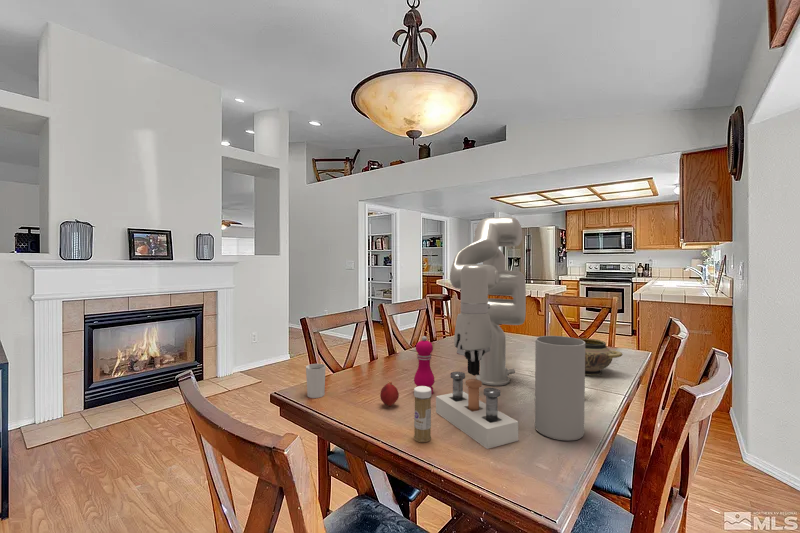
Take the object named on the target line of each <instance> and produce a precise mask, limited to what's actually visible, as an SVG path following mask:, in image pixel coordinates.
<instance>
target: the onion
mask: <svg viewBox="0 0 800 533" xmlns="http://www.w3.org/2000/svg"><path fill="white" fill-rule="evenodd" d="M399 395H400V394H399V391H398V389H397V387H396V386H395V385H393V382H392V381H391V380H390V381H388V382H387V384H385V385H383V387H382V388H381V390H380V400H381V402H383V404H385V405H387V406H388V407H391V406H393V405H394V404H395V403H396V402H397V401H398V400H399Z"/></svg>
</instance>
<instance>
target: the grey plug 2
mask: <svg viewBox="0 0 800 533" xmlns="http://www.w3.org/2000/svg"><path fill="white" fill-rule="evenodd" d="M482 390H483V392H482V393H483V395H484V397H485V404H486V420H487V421H488V422H490V423H492V422H497V421H498V411H499V409H498V407H499V404H498V402H499V400H498V399H499V397H500V396H501V392H502V391H501V390H500V389H499V388H495V387H484V388H483V389H482Z"/></svg>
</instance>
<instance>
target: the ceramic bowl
mask: <svg viewBox="0 0 800 533" xmlns="http://www.w3.org/2000/svg"><path fill="white" fill-rule="evenodd" d="M579 339H580V340H583V341H584V342H585V376H599V375H601V374H602V371H601V370H604V369H606V368H608V367H609V366H610V364H611V363H612V361H613V359H616V358H620V357H622V356H623V353H622V352H621V351H618V350H613V349H610V348H608V347H607V343H606V342H605V341H603V340H601V339H594V338H579Z"/></svg>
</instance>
